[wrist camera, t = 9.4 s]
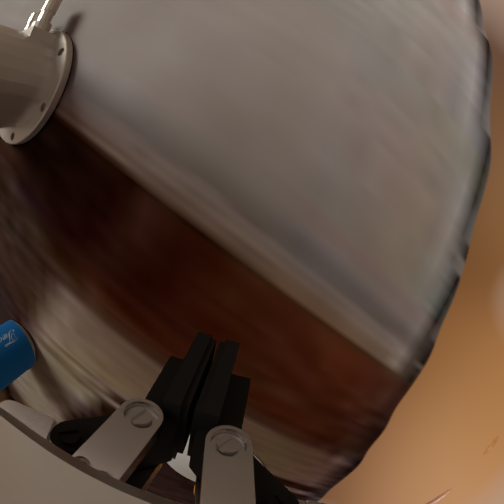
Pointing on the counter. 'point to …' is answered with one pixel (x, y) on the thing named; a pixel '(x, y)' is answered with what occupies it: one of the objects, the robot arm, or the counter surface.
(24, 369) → the beverage can
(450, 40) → the counter surface
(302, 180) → the counter surface
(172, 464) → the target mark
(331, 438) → the counter surface
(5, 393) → the ceramic vessel
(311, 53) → the counter surface
